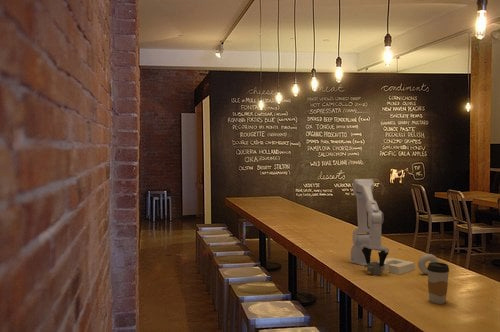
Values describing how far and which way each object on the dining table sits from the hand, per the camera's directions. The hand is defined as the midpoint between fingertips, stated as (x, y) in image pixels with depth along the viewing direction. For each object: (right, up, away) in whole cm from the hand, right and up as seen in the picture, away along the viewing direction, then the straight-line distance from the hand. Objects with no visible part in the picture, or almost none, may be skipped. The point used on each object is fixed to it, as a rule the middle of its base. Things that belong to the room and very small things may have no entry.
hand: (374, 264), depth 249 cm
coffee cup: (+15, -7, -42) cm, 45 cm away
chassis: (+12, -4, +8) cm, 15 cm away
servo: (0, -4, 0) cm, 4 cm away
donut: (+25, -5, -1) cm, 26 cm away
